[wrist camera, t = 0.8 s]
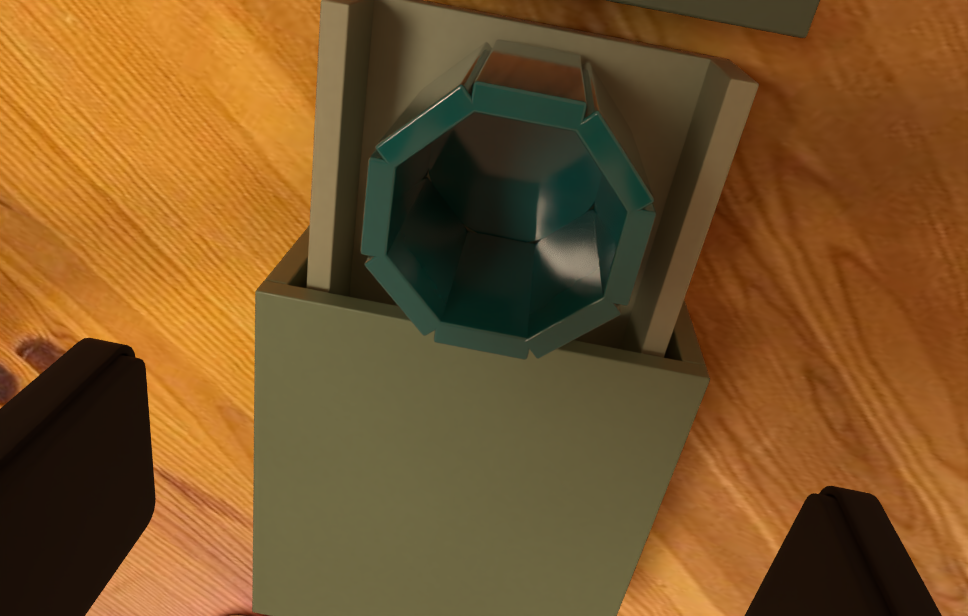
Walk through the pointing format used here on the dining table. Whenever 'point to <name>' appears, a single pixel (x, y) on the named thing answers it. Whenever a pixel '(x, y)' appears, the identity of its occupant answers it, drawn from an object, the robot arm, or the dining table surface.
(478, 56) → the green octagonal cup
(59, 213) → the dining table surface
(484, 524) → the cabinet
